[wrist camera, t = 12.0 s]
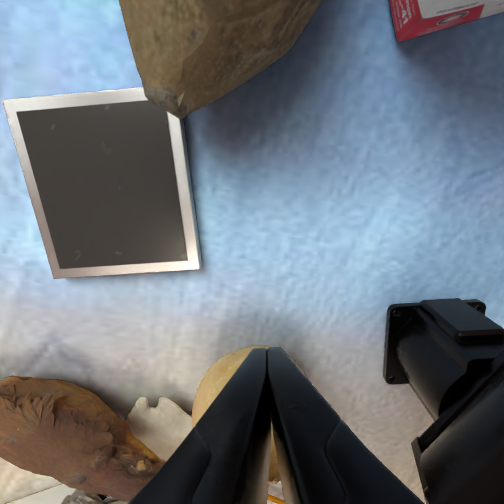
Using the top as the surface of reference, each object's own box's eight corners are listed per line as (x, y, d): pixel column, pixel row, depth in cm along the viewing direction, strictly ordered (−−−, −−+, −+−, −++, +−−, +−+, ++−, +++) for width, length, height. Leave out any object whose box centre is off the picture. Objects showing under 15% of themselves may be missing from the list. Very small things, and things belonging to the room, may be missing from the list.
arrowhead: (160, 372, 24) (84, 441, 26) (151, 388, 22) (71, 461, 24) (222, 424, 25) (144, 487, 27) (218, 444, 23) (135, 510, 25)
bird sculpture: (-73, 312, 24) (-164, 352, 20) (212, 407, 21) (180, 482, 16) (-55, 373, 27) (-132, 420, 22) (202, 467, 23) (172, 547, 19)
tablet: (202, 265, 20) (199, 270, 20) (61, 274, 21) (52, 279, 20) (179, 87, 17) (174, 83, 16) (13, 102, 18) (0, 99, 17)
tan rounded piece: (264, 546, 15) (241, 469, 22) (360, 424, 17) (312, 388, 24) (160, 434, 15) (169, 391, 22) (269, 324, 17) (246, 316, 24)
